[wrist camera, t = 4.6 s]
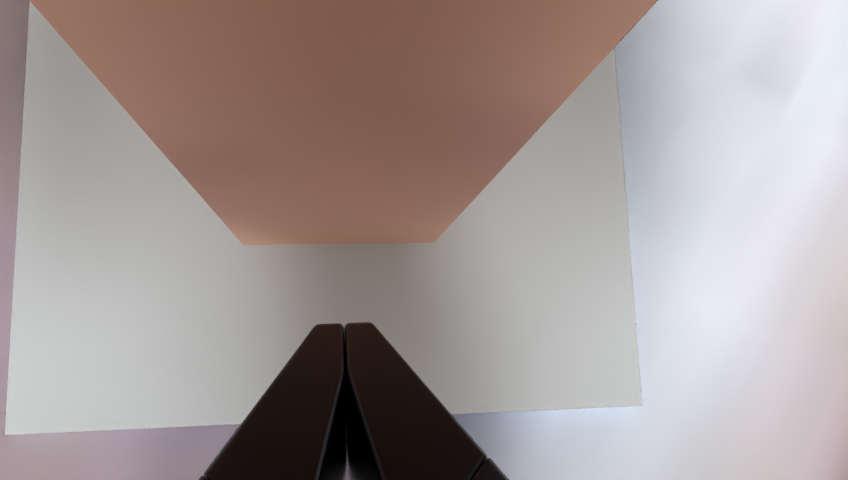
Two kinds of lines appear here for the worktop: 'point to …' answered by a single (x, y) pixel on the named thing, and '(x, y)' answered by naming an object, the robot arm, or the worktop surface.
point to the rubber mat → (302, 275)
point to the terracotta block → (341, 100)
